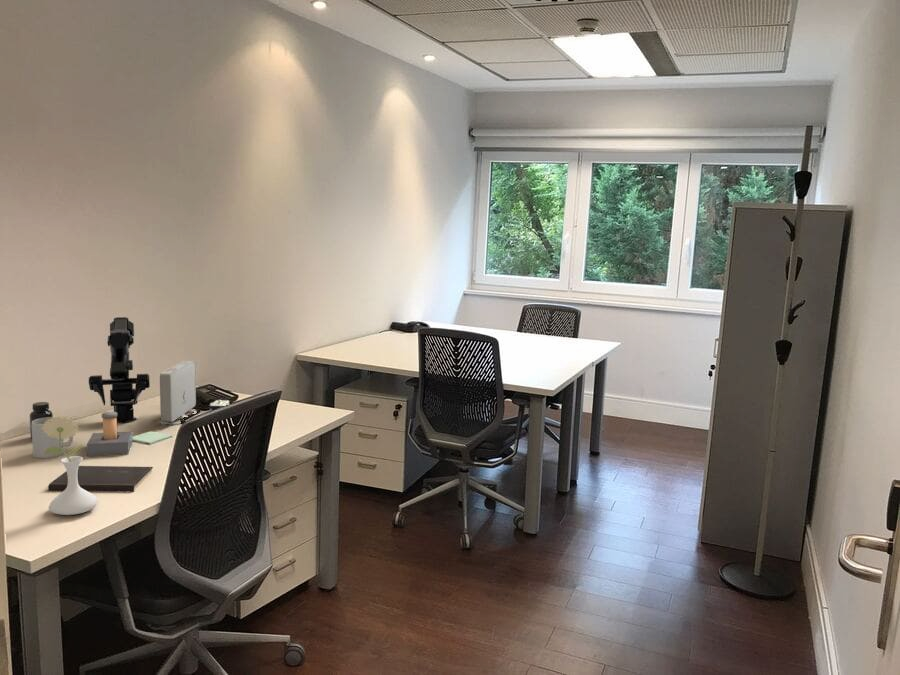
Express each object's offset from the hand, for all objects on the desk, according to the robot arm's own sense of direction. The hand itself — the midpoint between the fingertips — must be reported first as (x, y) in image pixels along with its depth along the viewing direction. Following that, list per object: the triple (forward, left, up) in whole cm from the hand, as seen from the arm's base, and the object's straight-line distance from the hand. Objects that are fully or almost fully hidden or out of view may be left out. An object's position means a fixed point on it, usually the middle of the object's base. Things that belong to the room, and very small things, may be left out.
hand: (119, 403), depth 243 cm
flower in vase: (+35, -49, -13) cm, 61 cm away
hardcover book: (+25, -30, -14) cm, 41 cm away
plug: (+4, -8, -13) cm, 16 cm away
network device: (-5, +32, -13) cm, 35 cm away
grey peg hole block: (+4, -8, -13) cm, 16 cm away
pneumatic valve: (+21, +24, -13) cm, 35 cm away
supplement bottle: (-25, -10, -13) cm, 30 cm away
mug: (-7, -20, -13) cm, 25 cm away
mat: (+6, +7, -13) cm, 16 cm away
